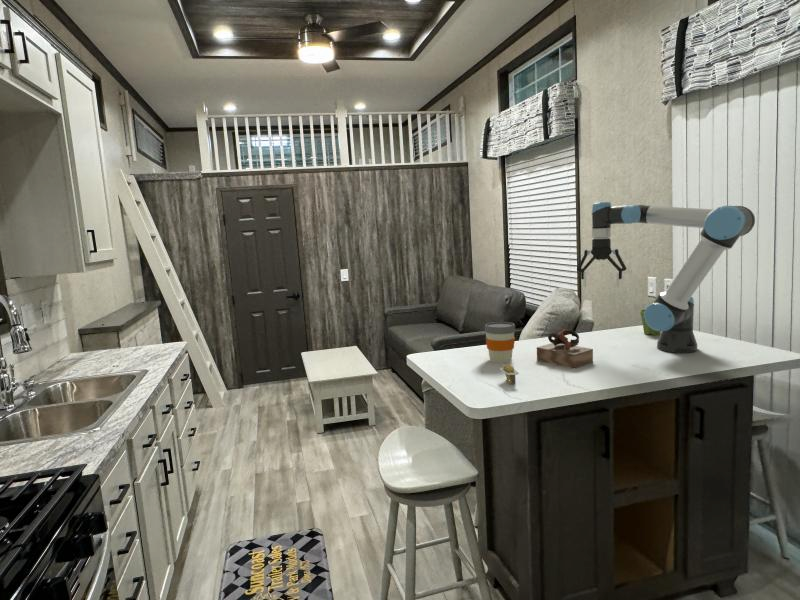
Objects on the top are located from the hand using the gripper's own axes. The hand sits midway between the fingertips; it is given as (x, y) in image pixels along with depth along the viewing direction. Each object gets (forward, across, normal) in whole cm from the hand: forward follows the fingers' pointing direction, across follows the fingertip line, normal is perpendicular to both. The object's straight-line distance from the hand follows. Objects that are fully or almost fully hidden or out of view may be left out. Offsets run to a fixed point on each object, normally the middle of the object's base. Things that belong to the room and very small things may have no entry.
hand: (601, 286), depth 229 cm
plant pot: (+27, -20, -32) cm, 46 cm away
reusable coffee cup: (+27, +36, +35) cm, 57 cm away
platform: (+27, +25, +65) cm, 75 cm away
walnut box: (+27, +11, +31) cm, 43 cm away
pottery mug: (+21, +12, +30) cm, 38 cm away
